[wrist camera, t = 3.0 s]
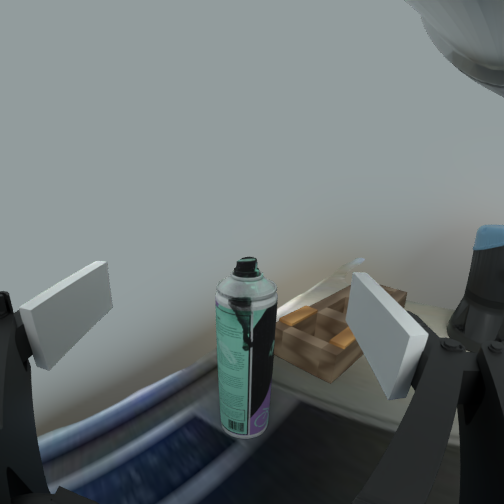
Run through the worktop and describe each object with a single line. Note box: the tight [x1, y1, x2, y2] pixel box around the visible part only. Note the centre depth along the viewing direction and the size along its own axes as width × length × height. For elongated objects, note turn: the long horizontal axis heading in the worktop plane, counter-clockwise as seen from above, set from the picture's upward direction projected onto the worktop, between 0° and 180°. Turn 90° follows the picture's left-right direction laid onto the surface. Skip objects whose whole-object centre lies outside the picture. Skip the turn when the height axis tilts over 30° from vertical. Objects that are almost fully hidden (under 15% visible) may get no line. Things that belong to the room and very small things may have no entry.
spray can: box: [215, 257, 278, 439], centre depth 27 cm, size 6×6×20 cm
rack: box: [274, 285, 407, 384], centre depth 51 cm, size 12×31×6 cm, turn 133°
